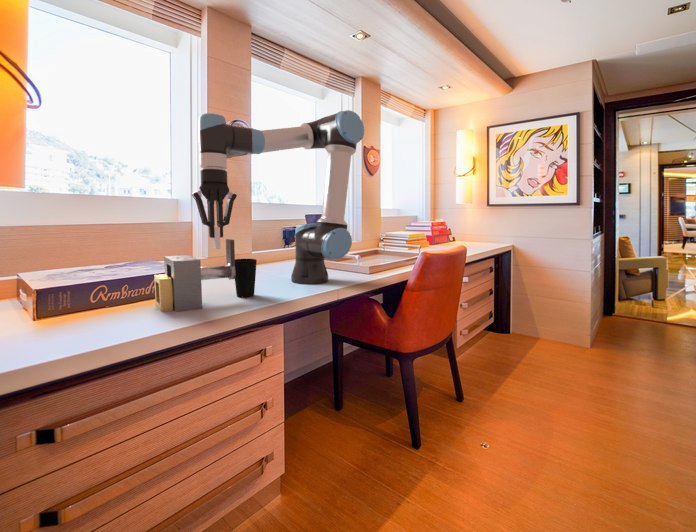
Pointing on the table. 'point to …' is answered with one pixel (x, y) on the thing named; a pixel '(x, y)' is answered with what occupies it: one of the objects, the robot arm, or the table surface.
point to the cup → (245, 277)
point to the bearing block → (184, 281)
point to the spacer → (163, 292)
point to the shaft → (222, 270)
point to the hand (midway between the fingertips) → (216, 248)
